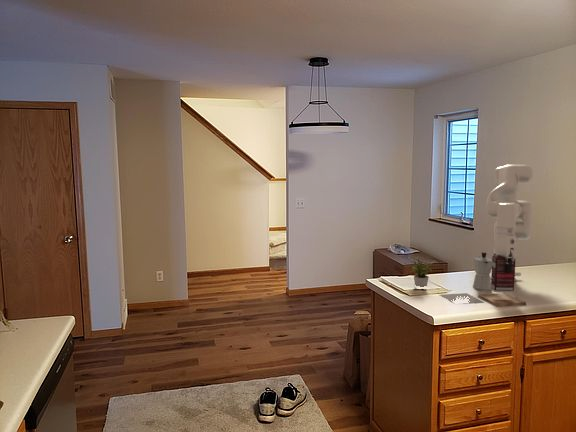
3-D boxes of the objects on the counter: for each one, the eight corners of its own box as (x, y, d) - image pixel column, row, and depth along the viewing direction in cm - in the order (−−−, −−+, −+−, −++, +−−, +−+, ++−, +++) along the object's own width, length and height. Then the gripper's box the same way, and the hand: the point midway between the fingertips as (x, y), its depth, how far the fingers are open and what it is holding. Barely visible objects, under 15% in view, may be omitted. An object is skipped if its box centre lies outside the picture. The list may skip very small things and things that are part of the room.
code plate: (466, 293, 208) (466, 293, 208) (484, 302, 194) (484, 302, 194) (439, 295, 205) (439, 294, 205) (455, 304, 192) (455, 303, 192)
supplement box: (509, 289, 198) (511, 255, 196) (514, 292, 193) (516, 257, 191) (489, 289, 198) (491, 255, 197) (493, 292, 194) (496, 257, 192)
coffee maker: (495, 292, 209) (497, 255, 207) (475, 291, 211) (477, 254, 209) (487, 284, 224) (489, 249, 222) (469, 283, 226) (470, 248, 224)
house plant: (397, 287, 217) (398, 255, 215) (413, 282, 226) (414, 251, 224) (422, 294, 206) (423, 260, 205) (438, 288, 215) (439, 256, 213)
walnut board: (505, 295, 204) (505, 292, 204) (526, 304, 191) (526, 302, 190) (477, 296, 202) (478, 294, 202) (496, 306, 188) (497, 303, 188)
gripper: (526, 233, 185) (523, 275, 187) (500, 228, 202) (498, 266, 204) (510, 234, 184) (508, 276, 186) (485, 228, 200) (483, 266, 202)
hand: (503, 270), depth 195 cm, fingers closed on supplement box, 5 cm apart
